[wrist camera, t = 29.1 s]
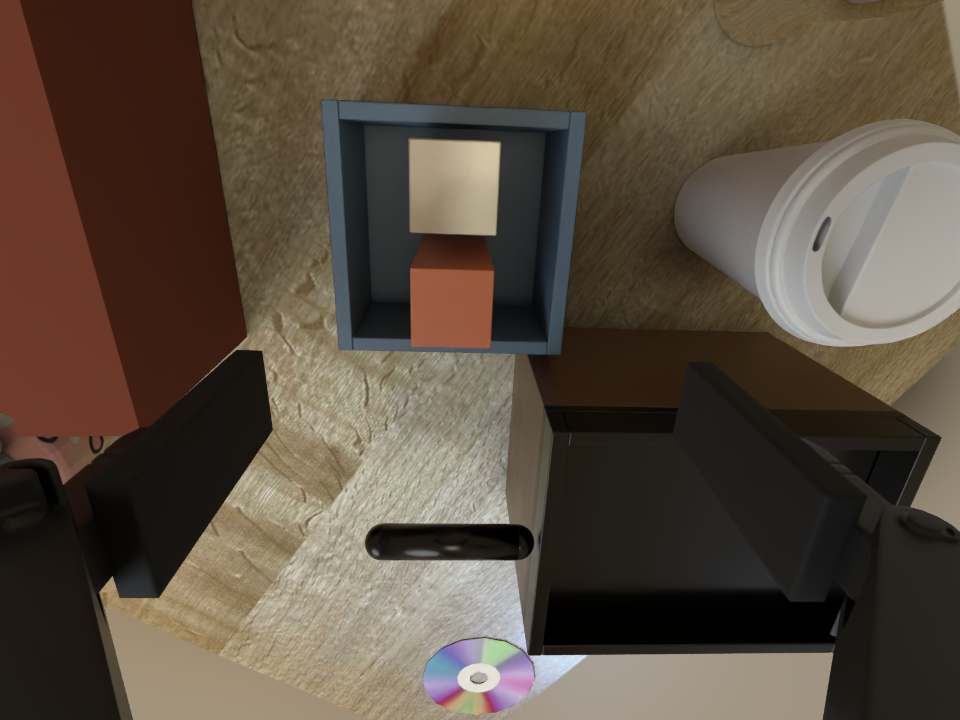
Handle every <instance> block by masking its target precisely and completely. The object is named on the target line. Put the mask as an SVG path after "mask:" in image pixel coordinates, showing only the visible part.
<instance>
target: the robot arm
mask: <svg viewBox="0 0 960 720" xmlns="http://www.w3.org/2000/svg"><path fill="white" fill-rule="evenodd" d="M272 430H273V428H272V420H271V413H270V406H269V398H268V391H267V383H266V376H265V369H264V361H263V354H262V351H254V350H236V351H235V352H234V353H232V354H231V355H230V356H229V357H228V358H227V359H226V360H224V361H223V362H222V363H221V364H220V365H219V366H218V367H217V368H215V369H214V370H213V371H212V372H211V373H210V374H209V375H208V376H206V377H205V378H204V379H203V380H202V381H201V382H200V383H198V384H197V385H196V386H195V387H194V388H193V389H192V390H191V391H189V392H188V393H187V394H186V395H185V396H184V397H183V398H181V399H180V400H179V401H178V402H177V403H176V404H175V405H174V406H172V407H171V408H170V409H169V410H168V411H167V412H166V413H165V414H163V415H162V416H161V417H160V418H159V419H158V420H157V421H155V422H154V423H153V424H152V425H151V426H150V427H140V428H138V429H136V430H134V431H132V432H130V433H128V434H126V435H124V436H122V437H120V438H118V439H117V440H116V441H115V442H114V443H112V444H111V445H110V446H109V447H108V448H106V449H105V450H104V453H100V454H99V455H98V456H97V457H96V458H94V459H93V460H92V461H91V464H87V465H86V466H85V467H84V468H83V469H81V470H80V471H79V472H78V473H77V474H75V475H74V476H73V477H72V478H71V479H69V480H68V481H67V482H66V483H65V484H63V482H62V479H61V476H60V473H59V470H58V467H57V465H56V464H55V463H54V462H53V461H52V460H48V459H43V458H31V459H22V460H17V461H12V462H7V463H4V464H2V465H0V720H133V718H132V714H131V710H130V706H129V703H128V699H127V695H126V691H125V687H124V683H123V679H122V675H121V672H120V668H119V664H118V660H117V656H116V653H115V648H114V644H113V640H112V637H111V633H110V629H109V625H108V621H107V617H106V613H105V610H104V606H103V602H102V599H101V596H100V593H99V592H100V590H101V589H102V588H103V587H104V586H105V584H106V583H107V582H108V581H109V579H110V578H111V577H112V576H113V578H114V581H115V585H116V588H117V591H118V594H119V597H120V598H159V597H160V595H161V594H162V592H163V591H164V589H165V588H166V586H167V585H168V583H169V582H170V580H171V579H172V578H173V576H174V575H175V573H176V572H177V570H178V569H179V567H180V566H181V564H182V563H183V561H184V560H185V558H186V557H187V555H188V554H189V553H190V551H191V550H192V548H193V547H194V545H195V544H196V542H197V541H198V539H199V538H200V536H201V535H202V533H203V532H204V530H205V529H206V528H207V526H208V525H209V523H210V522H211V520H212V519H213V517H214V516H215V514H216V513H217V511H218V510H219V508H220V507H221V505H222V504H223V503H224V501H225V500H226V498H227V497H228V495H229V494H230V492H231V491H232V489H233V488H234V486H235V485H236V483H237V482H238V480H239V479H240V478H241V476H242V475H243V473H244V472H245V470H246V469H247V467H248V466H249V464H250V463H251V461H252V460H253V458H254V457H255V455H256V454H257V453H258V451H259V450H260V448H261V447H262V445H263V444H264V442H265V441H266V439H267V438H268V436H269V435H270V433H271V432H272ZM672 438H673V440H674V441H675V442H676V444H677V445H678V447H679V448H680V449H681V451H682V452H683V454H684V455H685V456H686V458H687V459H688V461H689V462H690V463H691V465H692V466H693V468H694V469H695V470H696V472H697V473H698V474H699V476H700V477H701V479H702V480H703V481H704V483H705V484H706V486H707V487H708V488H709V490H710V491H711V493H712V494H713V495H714V497H715V498H716V500H717V501H718V502H719V504H720V505H721V507H722V508H723V509H724V511H725V512H726V513H727V515H728V516H729V518H730V519H731V520H732V522H733V523H734V525H735V526H736V527H737V529H738V530H739V532H740V533H741V534H742V536H743V537H744V539H745V540H746V541H747V543H748V544H749V545H750V547H751V548H752V550H753V551H754V552H755V554H756V555H757V557H758V558H759V559H760V561H761V562H762V564H763V565H764V566H765V568H766V569H767V571H768V572H769V573H770V575H771V576H772V578H773V579H774V580H775V582H776V583H777V584H778V586H779V587H780V589H781V590H782V591H783V593H784V594H785V596H786V597H787V598H788V600H789V601H790V602H825V600H826V597H827V595H828V592H829V590H830V587H831V585H832V582H833V580H835V581H836V582H837V583H838V585H839V586H840V587H841V588H842V589H843V590H844V592H845V593H846V594H847V595H846V597H845V599H844V602H843V604H842V606H841V609H840V611H839V613H838V616H837V618H836V621H835V623H834V625H833V628H832V630H831V632H830V635H832V636H834V637H836V641H835V647H834V653H833V660H832V666H831V672H830V679H829V684H828V690H827V696H826V702H825V709H824V715H823V720H960V532H959V531H958V530H957V529H956V528H955V527H954V526H952V525H951V524H949V523H947V522H946V521H944V520H942V519H941V518H939V517H937V516H934V515H932V514H929V513H927V512H925V511H922V510H919V509H915V508H911V507H907V506H896V505H892V504H890V503H889V502H888V501H887V500H886V499H884V498H883V497H882V496H881V495H880V494H878V493H877V492H876V491H875V490H874V489H872V488H871V487H870V486H869V485H868V484H866V483H865V482H864V481H863V480H862V479H860V478H859V477H858V476H857V475H853V472H852V471H851V470H850V469H848V468H847V467H846V466H845V465H842V464H841V462H840V461H839V460H838V459H836V458H835V457H834V456H833V455H832V454H830V453H829V452H828V451H827V450H826V449H824V448H822V447H820V446H818V445H816V444H814V443H812V442H810V441H809V440H807V439H805V438H800V437H798V436H797V435H796V434H795V433H794V432H793V431H791V430H790V429H789V428H788V427H787V426H786V425H785V424H783V423H782V422H781V421H780V420H779V419H778V418H776V417H775V416H774V415H773V414H772V413H771V412H769V411H768V410H767V409H766V408H765V407H764V406H762V405H761V404H760V403H759V402H758V401H757V400H756V399H754V398H753V397H752V396H751V395H750V394H749V393H747V392H746V391H745V390H744V389H743V388H742V387H740V386H739V385H738V384H737V383H736V382H735V381H733V380H732V379H731V378H730V377H729V376H728V375H727V374H725V373H724V372H723V371H722V370H721V369H720V368H718V367H717V366H716V365H715V364H714V363H713V362H688V365H687V370H686V375H685V379H684V384H683V389H682V394H681V398H680V403H679V408H678V412H677V417H676V422H675V426H674V431H673V436H672Z"/></svg>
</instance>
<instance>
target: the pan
mask: <svg viewBox="0 0 960 720" xmlns="http://www.w3.org/2000/svg"><path fill="white" fill-rule="evenodd" d="M688 362H713V363H714V364H715V365H716V366H717V367H718V368H720V369H721V370H722V371H723V372H724V373H725V374H727V375H728V376H729V377H730V378H731V379H732V380H733V381H735V382H736V383H737V384H738V385H739V386H740V387H742V388H743V389H744V390H745V391H746V392H747V393H749V394H750V395H751V396H752V397H753V398H754V399H756V400H757V401H758V402H759V403H760V404H761V405H762V406H764V407H765V408H766V409H767V410H768V411H769V412H771V413H772V414H773V415H774V416H775V417H776V418H778V419H779V420H780V421H781V422H782V423H783V424H785V425H786V426H787V427H788V428H789V429H790V430H791V431H793V432H794V433H795V434H796V435H797V436H798V437H800V438H805V439H807V440H809V441H810V442H812V443H814V444H816V445H818V446H820V447H822V448H824V449H826V450H827V451H828V452H829V453H830V454H832V455H833V456H834V457H835V458H836V459H838V460H839V461H840V462H841V464H842V465H845V466H846V467H847V468H848V469H850V470H851V471H852V472H853V475H857V476H858V477H859V478H860V479H862V480H863V481H864V482H865V483H866V484H868V485H869V486H870V487H871V488H872V489H874V490H875V491H876V492H877V493H878V494H880V495H881V496H882V497H883V498H884V499H886V500H887V501H888V502H889V503H890V504H892V505H896V506H907V507H910V506H911V504H912V502H913V500H914V497H915V495H916V493H917V491H918V489H919V486H920V484H921V482H922V480H923V478H924V475H925V473H926V471H927V469H928V467H929V465H930V462H931V460H932V458H933V455H934V454H935V451H936V449H937V447H938V445H939V443H940V440H941V437H940V436H939V435H937V434H935V433H934V432H932V431H930V430H929V429H927V428H925V427H923V426H922V425H920V424H919V423H917V422H915V421H913V420H912V419H910V418H908V417H907V416H906V415H904V414H902V413H901V412H899V411H897V410H896V409H894V408H892V407H891V406H889V405H887V404H886V403H884V402H882V401H881V400H879V399H877V398H876V397H874V396H872V395H871V394H869V393H867V392H866V391H864V390H862V389H861V388H859V387H857V386H856V385H854V384H852V383H851V382H849V381H847V380H846V379H844V378H842V377H841V376H839V375H837V374H836V373H834V372H832V371H831V370H829V369H827V368H826V367H824V366H822V365H821V364H819V363H817V362H816V361H814V360H812V359H811V358H809V357H807V356H806V355H804V354H802V353H801V352H799V351H797V350H796V349H794V348H792V347H791V346H789V345H787V344H786V343H784V342H783V341H781V340H779V339H778V338H776V337H774V336H773V335H771V334H769V333H751V332H711V331H671V330H632V329H592V328H563V337H562V346H561V354H560V355H547V353H546V354H516V357H515V370H514V384H513V398H512V412H511V425H510V439H509V453H508V466H507V480H506V500H507V507H508V514H509V522H510V524H408V523H383V524H378V525H376V526H374V527H373V528H371V529H370V530H369V532H368V533H367V535H366V539H365V547H366V550H367V552H368V554H369V555H370V556H371V557H373V558H374V559H377V560H515V565H516V573H517V580H518V587H519V594H520V602H521V609H522V615H523V624H524V631H525V638H526V645H527V653H528V655H617V654H724V653H725V654H726V653H728V654H731V653H830V652H833V653H834V647H835V641H836V637H834V636H832V635H830V632H831V630H832V628H833V625H834V623H835V621H836V618H837V616H838V613H839V611H840V609H841V606H842V604H843V602H844V599H845V597H846V595H847V594H846V593H845V592H844V590H843V589H842V588H841V587H840V586H839V585H838V583H837V582H836V581H835V580H833V582H832V585H831V587H830V590H829V592H828V595H827V597H826V600H825V602H790V601H789V600H788V598H787V597H786V596H785V594H784V593H783V591H782V590H781V589H780V587H779V586H778V584H777V583H776V582H775V580H774V579H773V578H772V576H771V575H770V573H769V572H768V571H767V569H766V568H765V566H764V565H763V564H762V562H761V561H760V559H759V558H758V557H757V555H756V554H755V552H754V551H753V550H752V548H751V547H750V545H749V544H748V543H747V541H746V540H745V539H744V537H743V536H742V534H741V533H740V532H739V530H738V529H737V527H736V526H735V525H734V523H733V522H732V520H731V519H730V518H729V516H728V515H727V513H726V512H725V511H724V509H723V508H722V507H721V505H720V504H719V502H718V501H717V500H716V498H715V497H714V495H713V494H712V493H711V491H710V490H709V488H708V487H707V486H706V484H705V483H704V481H703V480H702V479H701V477H700V476H699V474H698V473H697V472H696V470H695V469H694V468H693V466H692V465H691V463H690V462H689V461H688V459H687V458H686V456H685V455H684V454H683V452H682V451H681V449H680V448H679V447H678V445H677V444H676V442H675V441H674V440H673V438H672V436H673V431H674V426H675V422H676V417H677V412H678V408H679V403H680V398H681V394H682V389H683V384H684V379H685V375H686V370H687V365H688Z"/></svg>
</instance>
